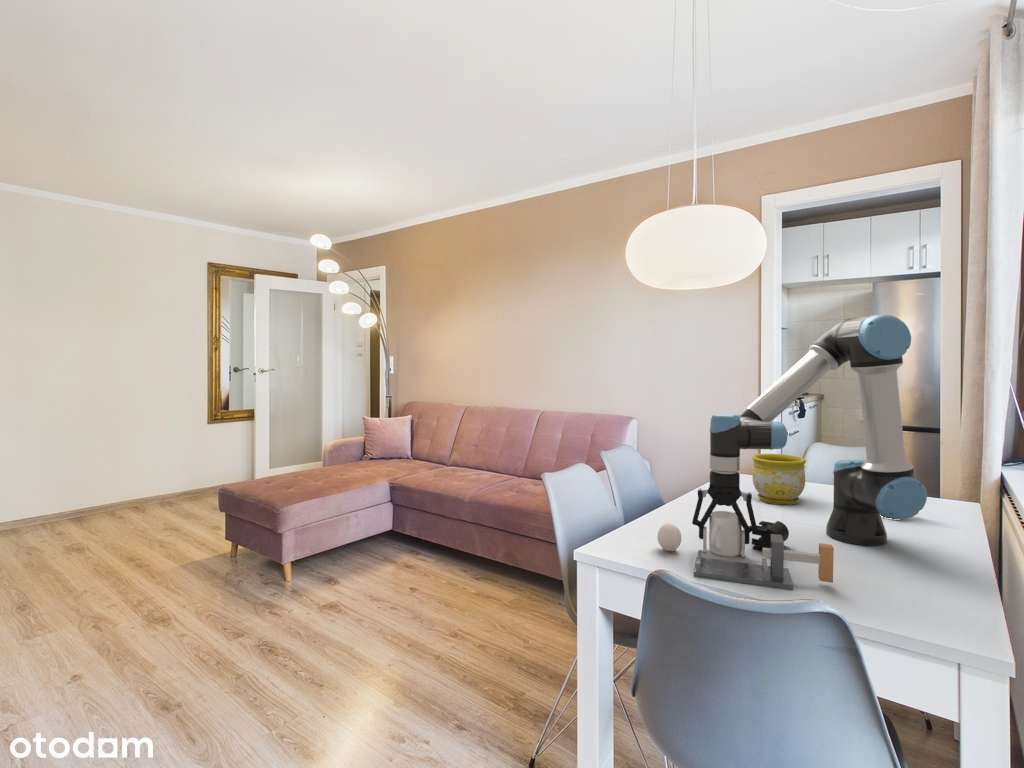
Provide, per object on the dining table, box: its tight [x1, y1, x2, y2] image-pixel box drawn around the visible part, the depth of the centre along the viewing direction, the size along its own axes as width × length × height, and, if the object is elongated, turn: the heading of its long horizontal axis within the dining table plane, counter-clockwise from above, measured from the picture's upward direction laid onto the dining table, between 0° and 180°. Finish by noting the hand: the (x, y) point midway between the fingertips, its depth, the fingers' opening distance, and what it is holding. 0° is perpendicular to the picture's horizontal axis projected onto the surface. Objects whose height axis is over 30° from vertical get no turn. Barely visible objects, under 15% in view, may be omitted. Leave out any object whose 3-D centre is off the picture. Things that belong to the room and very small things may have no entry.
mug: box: [708, 510, 743, 558], centre depth 145 cm, size 12×8×10 cm
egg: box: [657, 521, 682, 552], centre depth 148 cm, size 6×6×8 cm
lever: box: [761, 542, 835, 583], centre depth 126 cm, size 15×3×8 cm, turn 67°
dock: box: [693, 534, 794, 591], centre depth 130 cm, size 22×11×10 cm, turn 67°
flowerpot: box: [751, 453, 807, 505], centre depth 201 cm, size 18×18×16 cm
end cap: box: [751, 520, 790, 552], centre depth 150 cm, size 10×7×7 cm
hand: (723, 553), depth 145 cm, fingers open, 9 cm apart
